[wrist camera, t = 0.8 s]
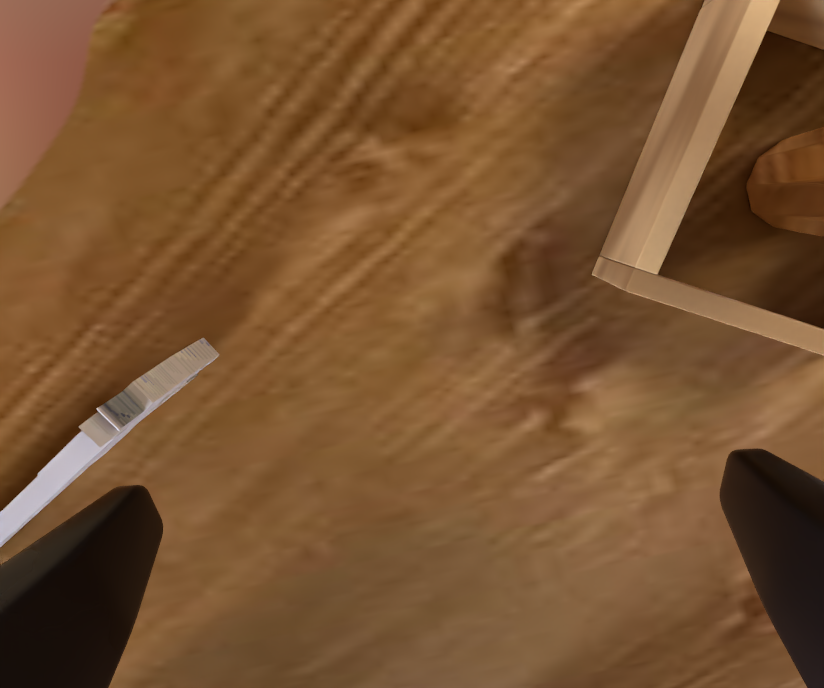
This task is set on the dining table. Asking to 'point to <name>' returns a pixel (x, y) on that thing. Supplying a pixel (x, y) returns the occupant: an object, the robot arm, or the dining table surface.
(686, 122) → the crate
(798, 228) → the milkshake
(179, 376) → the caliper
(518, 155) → the dining table surface
